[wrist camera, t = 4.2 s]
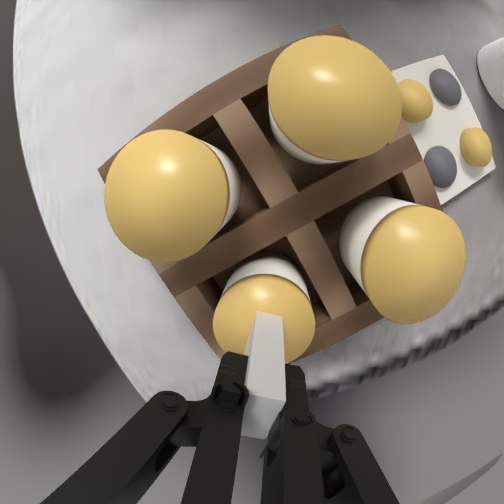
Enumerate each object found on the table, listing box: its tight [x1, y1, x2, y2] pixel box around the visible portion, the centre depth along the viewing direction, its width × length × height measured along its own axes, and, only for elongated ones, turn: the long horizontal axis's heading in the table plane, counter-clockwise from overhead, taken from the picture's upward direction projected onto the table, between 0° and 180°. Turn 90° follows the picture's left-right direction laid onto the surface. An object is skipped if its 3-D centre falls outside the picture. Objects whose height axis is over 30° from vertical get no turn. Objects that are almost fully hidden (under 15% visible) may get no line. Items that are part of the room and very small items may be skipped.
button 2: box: [213, 251, 315, 364], centre depth 18 cm, size 6×6×6 cm
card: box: [391, 54, 496, 205], centre depth 17 cm, size 12×10×2 cm
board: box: [98, 25, 443, 364], centre depth 19 cm, size 20×20×5 cm
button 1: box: [104, 129, 242, 262], centre depth 14 cm, size 6×6×6 cm
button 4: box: [339, 196, 466, 324], centre depth 14 cm, size 6×6×6 cm
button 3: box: [268, 35, 402, 165], centre depth 12 cm, size 6×6×6 cm
